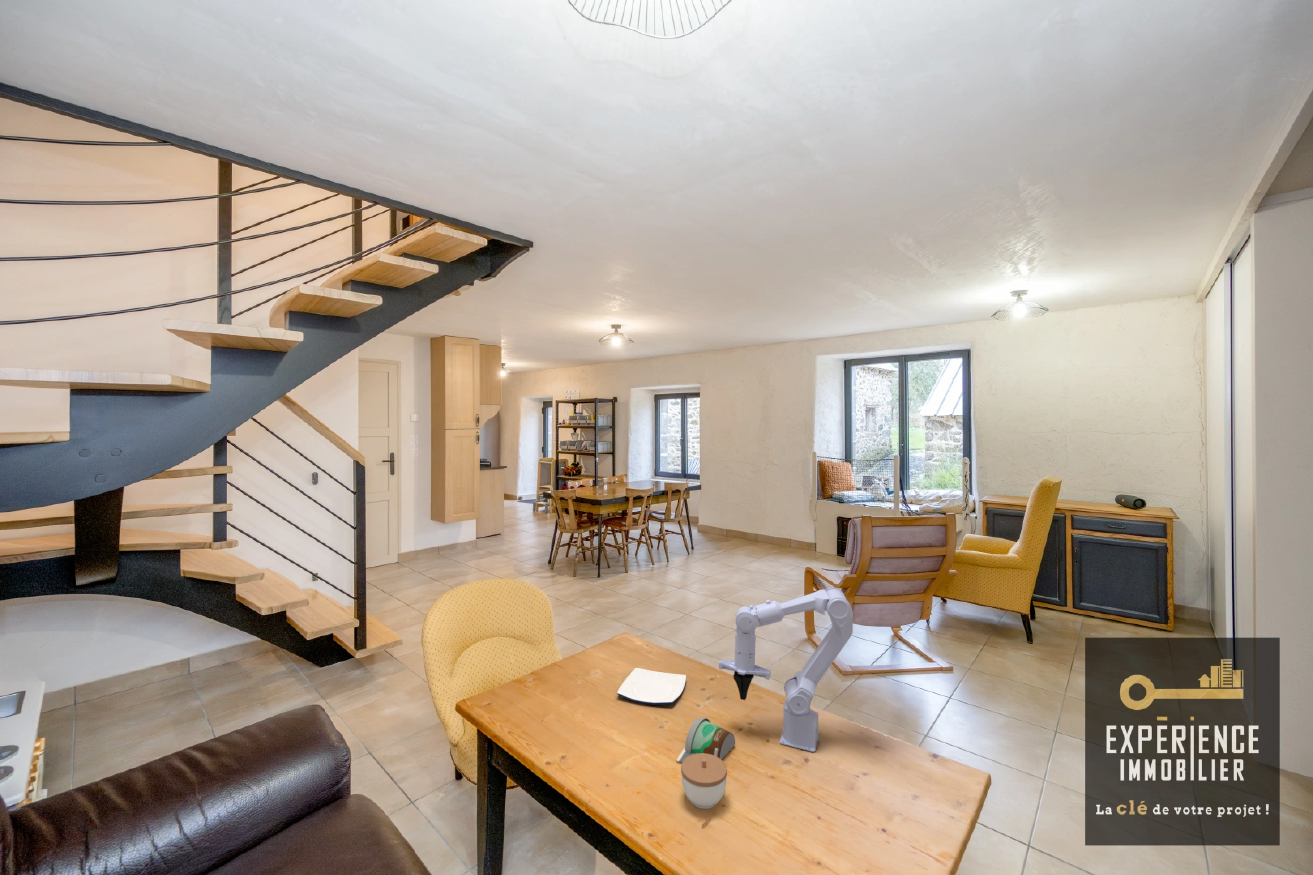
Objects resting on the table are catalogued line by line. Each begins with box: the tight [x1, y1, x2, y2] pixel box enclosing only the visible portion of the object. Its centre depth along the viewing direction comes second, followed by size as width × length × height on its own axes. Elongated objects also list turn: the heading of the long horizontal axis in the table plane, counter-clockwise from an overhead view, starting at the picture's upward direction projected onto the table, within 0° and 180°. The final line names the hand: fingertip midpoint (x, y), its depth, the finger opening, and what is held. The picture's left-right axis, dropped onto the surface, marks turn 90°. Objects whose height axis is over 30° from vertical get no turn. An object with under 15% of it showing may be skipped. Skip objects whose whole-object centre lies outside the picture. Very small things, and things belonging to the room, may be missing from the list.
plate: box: [616, 667, 687, 706], centre depth 172 cm, size 20×20×3 cm
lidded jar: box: [680, 753, 728, 810], centre depth 122 cm, size 11×11×9 cm
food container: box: [684, 717, 736, 761], centre depth 141 cm, size 12×6×10 cm
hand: (743, 698), depth 148 cm, fingers closed
